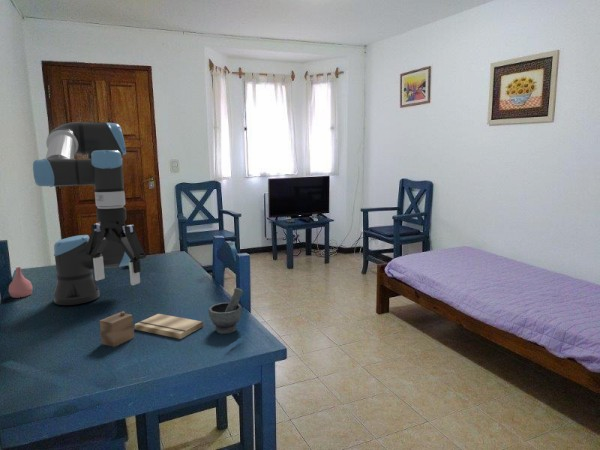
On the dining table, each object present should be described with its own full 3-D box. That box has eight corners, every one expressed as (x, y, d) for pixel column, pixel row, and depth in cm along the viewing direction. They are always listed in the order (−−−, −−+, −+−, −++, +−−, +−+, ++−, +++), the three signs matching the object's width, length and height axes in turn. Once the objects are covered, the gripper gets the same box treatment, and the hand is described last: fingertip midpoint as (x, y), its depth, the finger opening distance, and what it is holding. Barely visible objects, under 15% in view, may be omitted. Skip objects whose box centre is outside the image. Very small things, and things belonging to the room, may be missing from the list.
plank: (134, 329, 129) (134, 323, 129) (158, 318, 138) (158, 313, 137) (180, 338, 121) (180, 333, 121) (202, 326, 130) (202, 320, 130)
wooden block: (101, 344, 119) (99, 317, 118) (121, 334, 125) (119, 309, 124) (114, 347, 117) (112, 320, 115) (134, 337, 123) (132, 312, 122)
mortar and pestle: (219, 338, 121) (217, 298, 119) (204, 329, 128) (201, 291, 126) (252, 328, 128) (250, 290, 126) (235, 319, 135) (234, 283, 133)
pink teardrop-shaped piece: (18, 302, 157) (14, 270, 155) (5, 300, 160) (1, 269, 158) (38, 296, 164) (34, 266, 162) (24, 294, 167) (21, 264, 165)
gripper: (67, 207, 118) (74, 281, 121) (134, 209, 108) (141, 289, 111) (90, 204, 125) (96, 274, 128) (155, 206, 114) (161, 282, 117)
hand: (117, 281), depth 119 cm, fingers open, 13 cm apart
